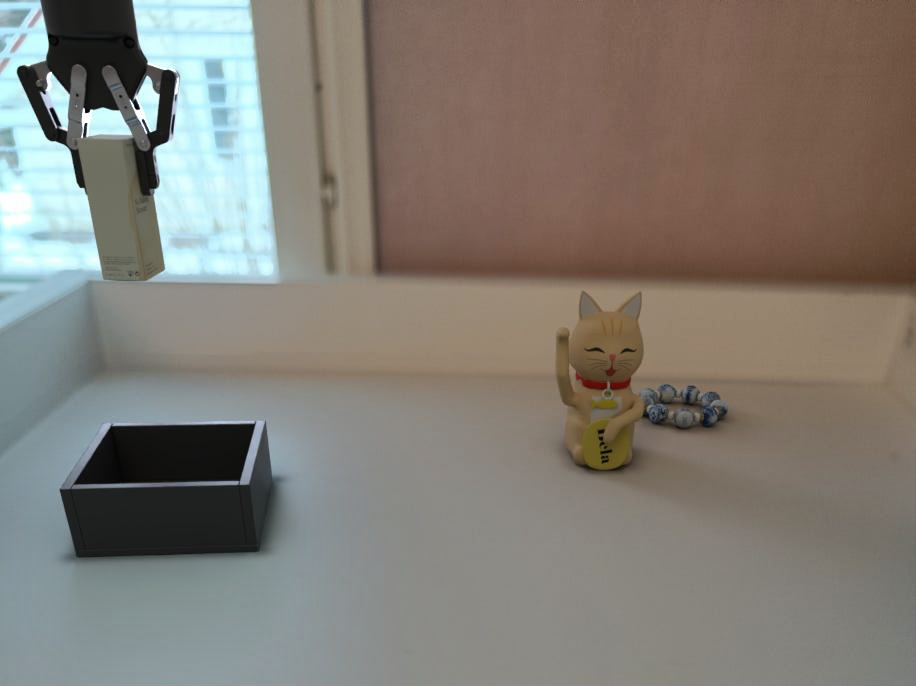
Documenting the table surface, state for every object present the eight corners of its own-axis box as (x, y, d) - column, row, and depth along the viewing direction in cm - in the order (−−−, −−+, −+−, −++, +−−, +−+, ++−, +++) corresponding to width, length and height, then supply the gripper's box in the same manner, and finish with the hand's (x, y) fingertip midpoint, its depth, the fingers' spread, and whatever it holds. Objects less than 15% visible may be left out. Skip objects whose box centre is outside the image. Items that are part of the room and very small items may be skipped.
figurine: (553, 475, 84) (565, 307, 76) (543, 436, 92) (553, 281, 84) (645, 475, 84) (666, 308, 76) (627, 437, 92) (645, 282, 84)
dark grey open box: (76, 557, 69) (58, 489, 66) (116, 484, 80) (103, 423, 77) (258, 551, 70) (249, 484, 67) (272, 480, 82) (265, 420, 79)
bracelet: (621, 419, 97) (623, 401, 95) (650, 393, 104) (652, 376, 103) (712, 436, 93) (715, 417, 92) (735, 408, 100) (738, 390, 99)
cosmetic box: (146, 283, 87) (123, 139, 81) (100, 281, 87) (73, 137, 81) (166, 269, 93) (146, 133, 86) (123, 268, 93) (99, 132, 86)
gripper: (176, -23, 80) (203, 190, 90) (7, -30, 79) (53, 188, 88) (161, -28, 74) (192, 201, 84) (-23, -36, 73) (29, 199, 82)
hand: (120, 193), depth 86 cm, fingers closed on cosmetic box, 4 cm apart
